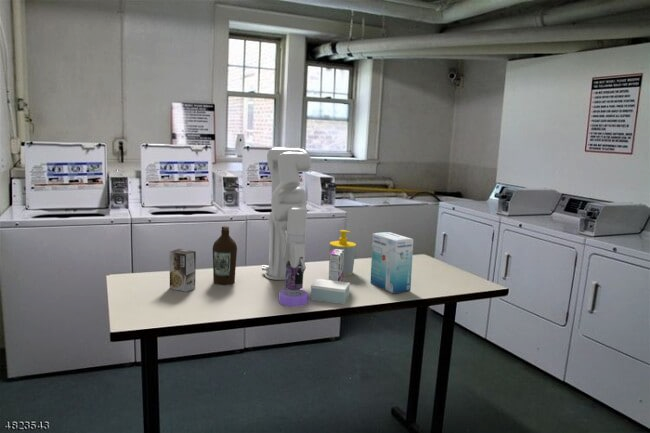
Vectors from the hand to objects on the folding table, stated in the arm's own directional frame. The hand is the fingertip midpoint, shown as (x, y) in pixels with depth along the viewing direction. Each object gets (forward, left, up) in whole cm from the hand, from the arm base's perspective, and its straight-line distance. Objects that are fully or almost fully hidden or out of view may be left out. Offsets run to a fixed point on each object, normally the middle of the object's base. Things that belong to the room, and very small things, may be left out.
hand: (294, 280), depth 205 cm
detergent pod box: (+11, +12, -9) cm, 18 cm away
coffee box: (-47, -11, -9) cm, 49 cm away
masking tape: (0, 0, -9) cm, 9 cm away
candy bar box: (+7, +27, -9) cm, 29 cm away
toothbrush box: (+28, +41, -9) cm, 50 cm away
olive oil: (-38, +6, -9) cm, 39 cm away
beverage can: (0, 0, -4) cm, 4 cm away
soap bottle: (0, +51, -9) cm, 52 cm away
